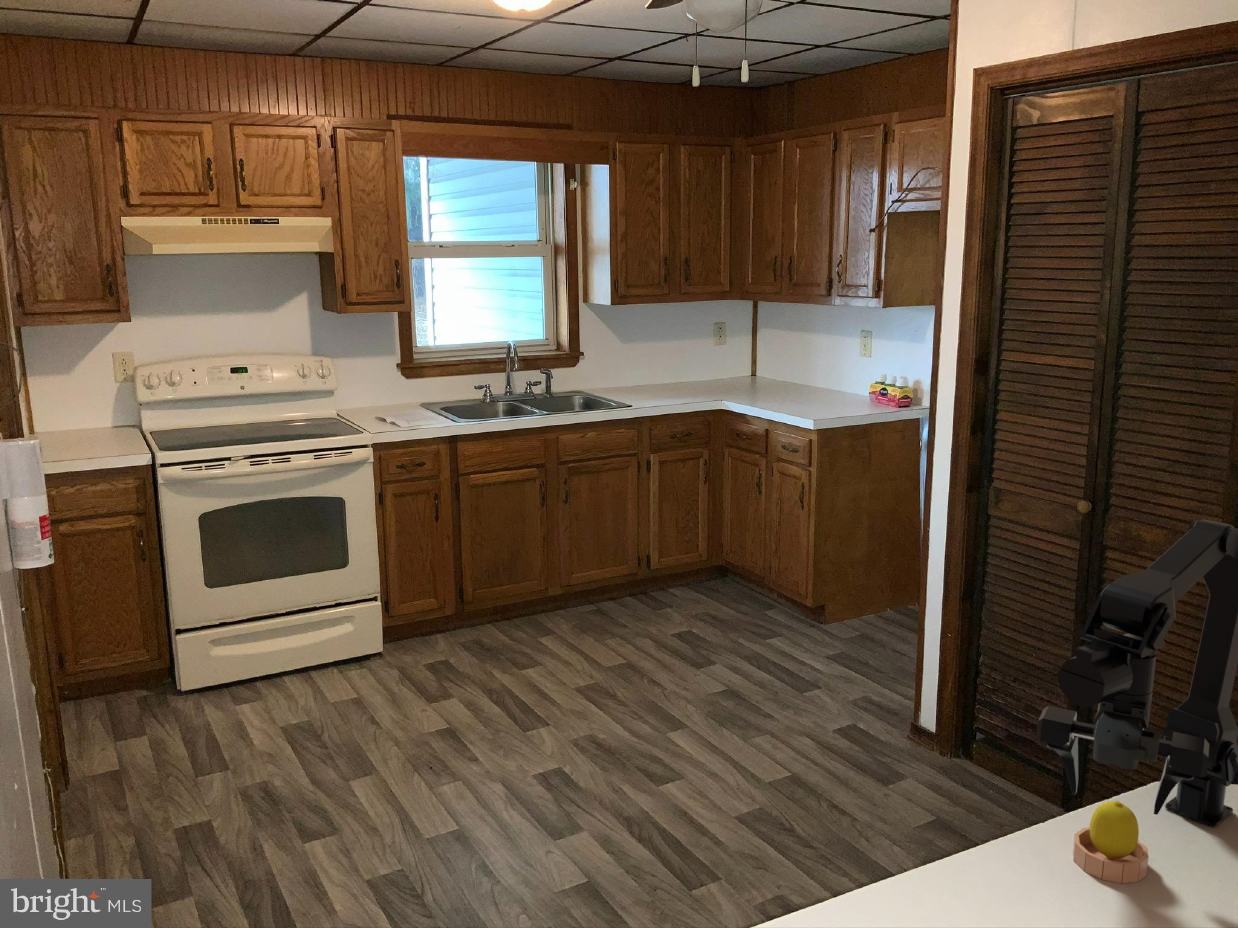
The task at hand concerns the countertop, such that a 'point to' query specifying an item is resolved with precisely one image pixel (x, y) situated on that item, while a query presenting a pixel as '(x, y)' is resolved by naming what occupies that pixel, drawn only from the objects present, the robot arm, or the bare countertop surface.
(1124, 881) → the dish
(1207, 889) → the countertop surface
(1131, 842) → the lemon
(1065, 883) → the countertop surface
